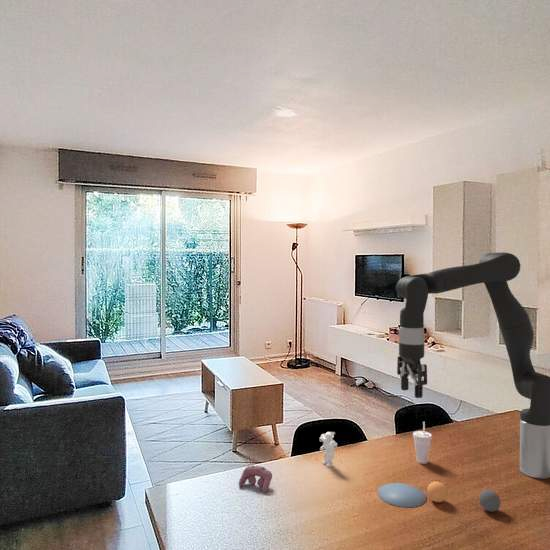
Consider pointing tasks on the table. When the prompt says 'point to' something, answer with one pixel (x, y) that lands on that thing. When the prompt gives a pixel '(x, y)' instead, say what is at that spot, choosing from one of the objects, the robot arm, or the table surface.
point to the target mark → (401, 495)
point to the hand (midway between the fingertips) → (411, 393)
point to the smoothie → (422, 445)
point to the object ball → (437, 491)
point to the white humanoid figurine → (328, 448)
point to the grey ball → (489, 500)
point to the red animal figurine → (256, 471)
